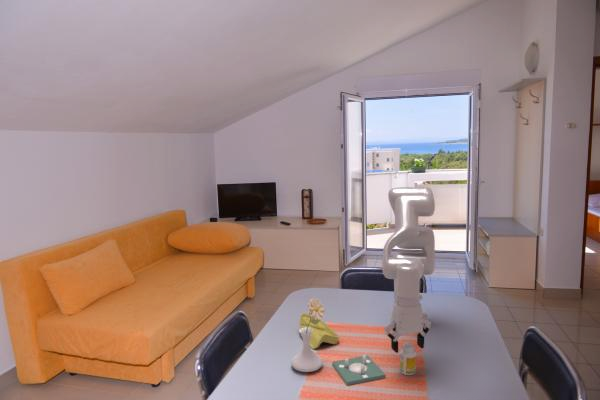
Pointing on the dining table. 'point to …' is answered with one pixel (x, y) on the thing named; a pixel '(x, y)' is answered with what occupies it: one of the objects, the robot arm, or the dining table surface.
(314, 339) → the plastic component
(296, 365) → the flower in vase
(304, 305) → the dining table surface
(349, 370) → the board
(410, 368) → the supplement bottle
